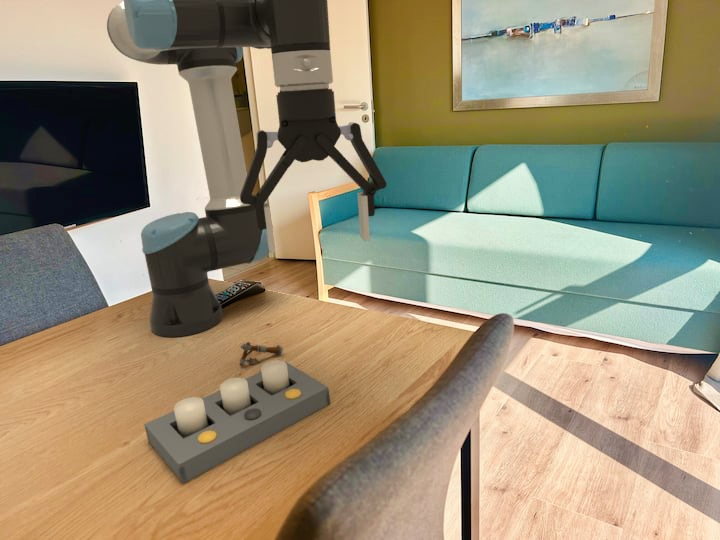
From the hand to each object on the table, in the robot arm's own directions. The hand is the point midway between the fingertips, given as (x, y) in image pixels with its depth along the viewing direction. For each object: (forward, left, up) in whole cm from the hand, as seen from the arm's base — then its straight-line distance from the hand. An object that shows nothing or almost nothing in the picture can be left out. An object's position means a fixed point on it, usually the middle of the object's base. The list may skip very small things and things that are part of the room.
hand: (319, 244), depth 74 cm
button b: (-5, -14, -23) cm, 27 cm away
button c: (-5, -7, -23) cm, 25 cm away
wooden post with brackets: (-18, -2, -26) cm, 32 cm away
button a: (-5, -21, -23) cm, 32 cm away
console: (-4, -14, -25) cm, 29 cm away
